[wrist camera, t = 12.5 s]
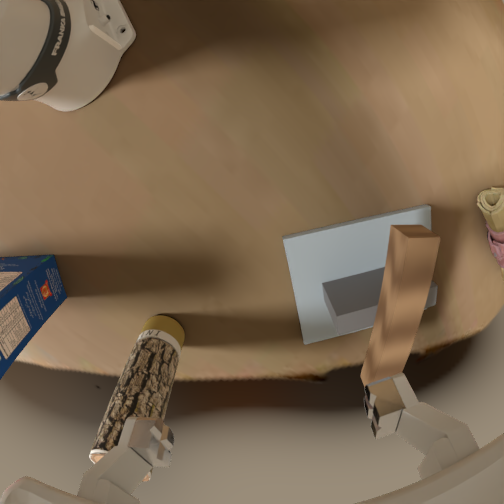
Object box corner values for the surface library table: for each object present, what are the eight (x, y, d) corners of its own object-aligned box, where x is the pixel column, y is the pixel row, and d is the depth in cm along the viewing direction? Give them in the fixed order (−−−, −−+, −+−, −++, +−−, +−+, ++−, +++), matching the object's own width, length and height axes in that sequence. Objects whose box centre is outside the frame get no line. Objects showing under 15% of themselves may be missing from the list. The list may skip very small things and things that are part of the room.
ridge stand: (303, 339, 44) (312, 381, 36) (282, 236, 37) (291, 267, 29) (423, 305, 42) (449, 336, 34) (426, 204, 35) (464, 223, 27)
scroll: (465, 212, 34) (491, 288, 40) (504, 212, 27) (521, 294, 33) (476, 182, 36) (502, 259, 41) (511, 179, 28) (530, 262, 34)
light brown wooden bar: (390, 224, 27) (408, 238, 23) (420, 224, 27) (440, 237, 23) (360, 375, 36) (368, 396, 32) (384, 371, 36) (394, 390, 32)
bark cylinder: (194, 331, 43) (162, 477, 20) (169, 352, 45) (133, 483, 22) (160, 305, 41) (101, 448, 18) (137, 328, 43) (81, 457, 20)
